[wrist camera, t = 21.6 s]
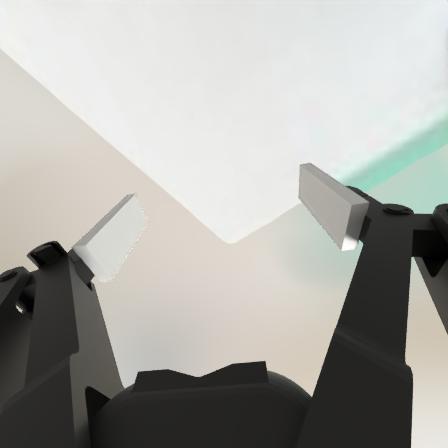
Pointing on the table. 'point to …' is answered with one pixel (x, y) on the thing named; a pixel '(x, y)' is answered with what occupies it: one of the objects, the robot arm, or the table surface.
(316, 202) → the robot arm
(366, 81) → the table surface
